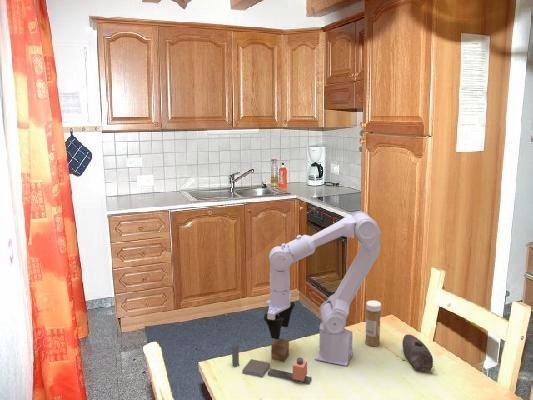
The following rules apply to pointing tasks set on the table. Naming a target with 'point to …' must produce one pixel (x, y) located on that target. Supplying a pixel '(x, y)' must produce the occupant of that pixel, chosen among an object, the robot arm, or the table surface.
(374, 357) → the table surface
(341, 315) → the robot arm
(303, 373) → the lever handle
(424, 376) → the table surface
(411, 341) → the perforated stone tool
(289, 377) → the rail
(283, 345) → the block
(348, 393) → the table surface
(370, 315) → the sprinkles bottle
